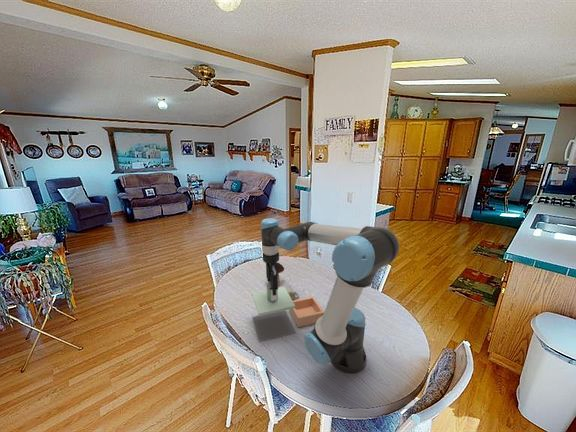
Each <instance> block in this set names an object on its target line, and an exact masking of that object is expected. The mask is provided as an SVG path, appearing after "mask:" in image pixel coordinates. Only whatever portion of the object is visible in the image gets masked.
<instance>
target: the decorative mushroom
mask: <svg viewBox="0 0 576 432" xmlns="http://www.w3.org/2000/svg"><path fill="white" fill-rule="evenodd" d="M275 264H276V267H277V268H276V270H277V271H278V274H277V277H278V284H279V283H280V274H281V273H283V272H284V271H285V267H284V265H282V264H281V263H280V262H279V261H277V262H276V263H275Z"/></svg>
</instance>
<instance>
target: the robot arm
mask: <svg viewBox="0 0 576 432" xmlns="http://www.w3.org/2000/svg"><path fill="white" fill-rule="evenodd" d="M260 232H261V233H260V234H261V251H262V252H261V253H262V261H263V263H265V271H266V273H265V274H266V280H267V282H271V288H270V290H271V301H275V300H277V289H278V288H279V286H278V285H279V283H278V277H277V274H278V271H277V270H276V268H277V267H276V264H275V263H276V262H279V260H280V252H279V250H280V248H281V249H283V250H286V251H293V250H295V248H296V247H297V246H298V244H300V243H303V242H306V241H307V242H308V241H309V242H315V243H321V244H326V245H330V246H331V245H332V246H335V247H334V248H333V250H332V255H331V260H332V263H333V264H332V266H333V269H334V271H335V275H336V279H335V282H334V285H333V287H332V290H331V293H330V296H329V298H328V300H327V304H326V307H325V309H324V310H323V311H324V314H323V316H322V317H320V318H319V319H318V320H317V321H316V324H314V327H313V329H312V330H311V331H308V332H307V333H306V334H305V335H304V345H305V347H306V350H307V353H308V354H309V356H311V358H312V359H313V360H314V361H315V362H316V363H318V364H319V365H323V366H325V365H326V364H328V363H331V364H332V365H333V366H334V367H335V368H336V369H337V370H338V371H341V372H343V373H346V374H356V373H360V372H362V370H363V369H364V368H365V367H366V364H367V353H366V350H365V347H364V339H365V329H366V325H367V324H366V316H365V314H364V312H363V311H361V310H360V309H359V308H357V307H356V306H357V304H358V302H359V301H358V300H359V299H360V297H361V295H362V293H363V291H364V289H365V288H369V287H370V286H371V285H372V283H373V282H374V279H375V278H376V275H377V272H379V270H380V269H382V268H384V267H385V266H387V265H389V264H391V263H393V261H395V260H396V258H397V256H398V255H399V251H400V242H399V239H398V238H397V236H396V234H395V233H394V232H393V231H391V230H390V229H389V228H385V227H383V226H382V227H381V226H369V225H365V226H363V227H362V228H359V227H358V228H357V227H350V226H339V225H338V226H337V225H330V224H329V225H328V224H319V223H318V222H316V221H315V220H314V221H306V222H305V223H301V224H298V225H293V226H289V227H285V228H284V227H281V226H279V221H278V219H277V218H274V217H273V218H271V217H270V218H269V217H267V218H264V219H262V220H261V222H260Z"/></svg>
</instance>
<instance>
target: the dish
mask: <svg viewBox="0 0 576 432" xmlns="http://www.w3.org/2000/svg"><path fill="white" fill-rule="evenodd" d="M293 303H294V305H295V308H293V309H289V310H288V311H289V313H290V314H291V317H292V319H293V320H294V322H295V325H296V327H297V328H298V329H299V328H303V327H308V326H311V325H315V324H316V321H317V320H318V319H319V318H320V317H322V316H323V314H324V311H325V310H324V309H323V307H322V306H321V305H320V303H319V302H318V301H317V299H316V298H315V297H314V296H310V297H305V298H304V297H303V298H298V299H294V300H293Z"/></svg>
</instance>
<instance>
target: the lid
mask: <svg viewBox="0 0 576 432" xmlns="http://www.w3.org/2000/svg"><path fill="white" fill-rule="evenodd" d="M270 288H271V282H269V281H267V283H266V290H260V291H256V292H255V291H254V292H251V296H252V298H253V302H254V305H255V308H256V312H257V316H261V315H266V314H270V313H275V312H279V311H284V310H286V311H289V309H293V308H295V305H294V303H293V301H294V300H293V301H292V299H291V297H290V296H289V294H288V292H287V290H286V288H285V287H281V286H280V287H278V289H277V300H275V301H271V290H270Z"/></svg>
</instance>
